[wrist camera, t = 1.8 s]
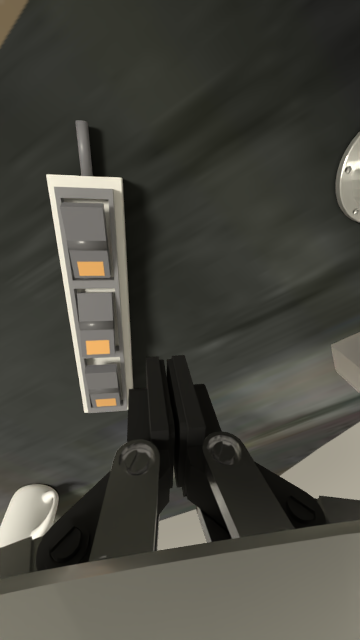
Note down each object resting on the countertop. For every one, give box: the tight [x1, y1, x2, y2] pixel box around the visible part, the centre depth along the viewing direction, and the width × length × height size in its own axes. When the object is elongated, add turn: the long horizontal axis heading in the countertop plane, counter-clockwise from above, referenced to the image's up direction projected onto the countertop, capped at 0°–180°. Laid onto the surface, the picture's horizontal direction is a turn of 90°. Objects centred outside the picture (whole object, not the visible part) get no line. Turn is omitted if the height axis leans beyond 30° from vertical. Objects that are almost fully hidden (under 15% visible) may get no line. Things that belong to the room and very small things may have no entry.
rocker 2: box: [77, 292, 116, 357], centre depth 34 cm, size 4×8×2 cm, turn 178°
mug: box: [0, 484, 59, 548], centre depth 49 cm, size 9×12×11 cm
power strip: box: [46, 120, 133, 413], centre depth 35 cm, size 8×38×4 cm, turn 178°
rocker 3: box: [85, 364, 121, 408], centre depth 38 cm, size 4×8×2 cm, turn 178°
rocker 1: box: [60, 202, 111, 278], centre depth 29 cm, size 4×8×2 cm, turn 178°
